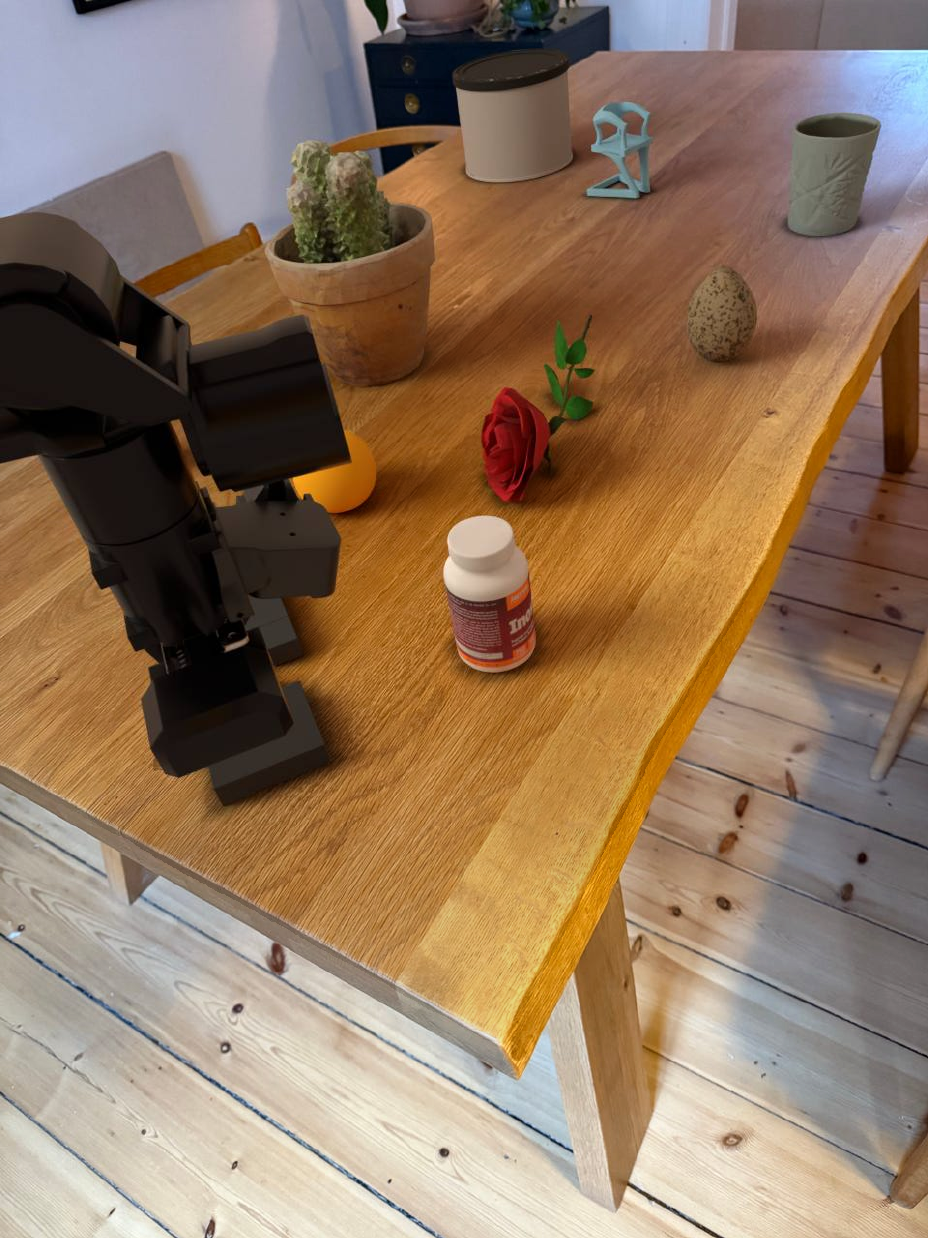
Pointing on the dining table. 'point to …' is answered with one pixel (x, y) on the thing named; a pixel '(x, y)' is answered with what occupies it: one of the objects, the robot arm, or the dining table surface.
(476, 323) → the dining table surface
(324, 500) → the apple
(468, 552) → the pill bottle
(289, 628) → the dark grey notched block
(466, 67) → the container
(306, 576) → the robot arm
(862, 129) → the green embossed vase
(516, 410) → the flower
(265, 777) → the dark grey tabbed block
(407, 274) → the potted plant
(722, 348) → the decorative egg
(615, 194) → the chair
